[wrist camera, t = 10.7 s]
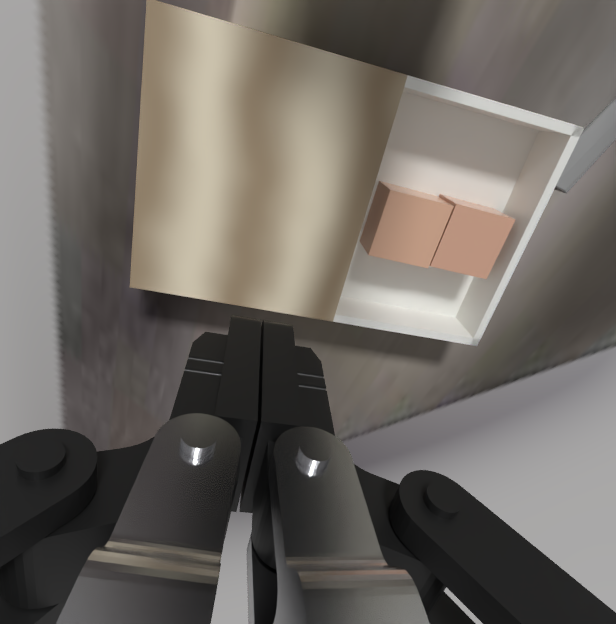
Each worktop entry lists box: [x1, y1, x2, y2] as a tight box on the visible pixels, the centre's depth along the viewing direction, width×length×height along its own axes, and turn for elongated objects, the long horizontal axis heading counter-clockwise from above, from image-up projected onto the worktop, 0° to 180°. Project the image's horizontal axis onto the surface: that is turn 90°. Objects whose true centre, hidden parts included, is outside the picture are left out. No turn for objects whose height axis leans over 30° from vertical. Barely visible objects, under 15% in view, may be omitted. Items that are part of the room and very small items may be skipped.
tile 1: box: [360, 181, 454, 268], centre depth 30 cm, size 4×4×3 cm
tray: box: [333, 75, 584, 346], centre depth 30 cm, size 12×16×4 cm
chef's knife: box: [555, 98, 616, 193], centre depth 31 cm, size 19×1×3 cm
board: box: [130, 0, 408, 322], centre depth 27 cm, size 14×16×4 cm
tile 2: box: [430, 194, 515, 279], centre depth 30 cm, size 4×4×3 cm
